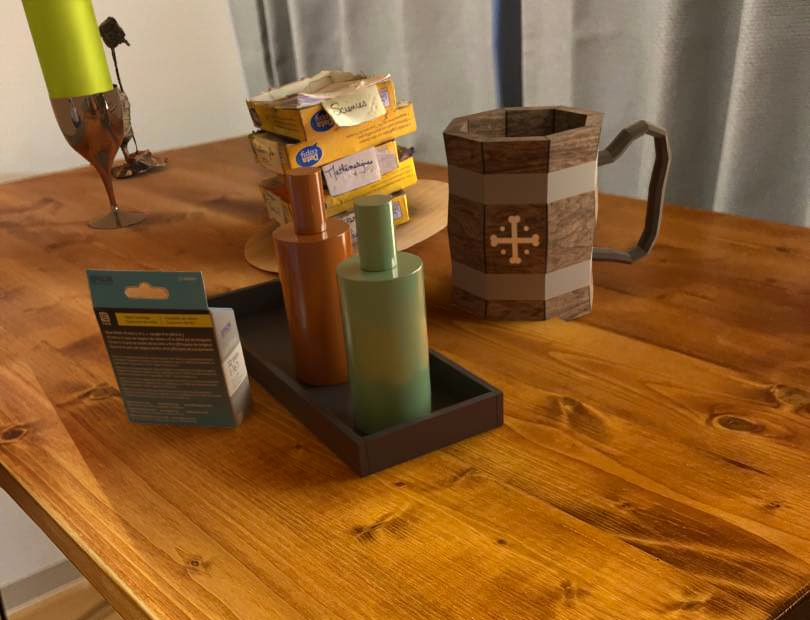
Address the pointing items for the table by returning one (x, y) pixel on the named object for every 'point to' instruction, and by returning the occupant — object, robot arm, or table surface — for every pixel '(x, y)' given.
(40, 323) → the table surface
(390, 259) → the green bottle
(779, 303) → the table surface
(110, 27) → the plant with pod
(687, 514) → the table surface
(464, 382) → the tray
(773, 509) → the table surface
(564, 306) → the mug
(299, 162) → the yellow box stack
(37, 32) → the soap dispenser
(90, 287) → the label tape box
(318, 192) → the amber bottle
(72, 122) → the wine glass
